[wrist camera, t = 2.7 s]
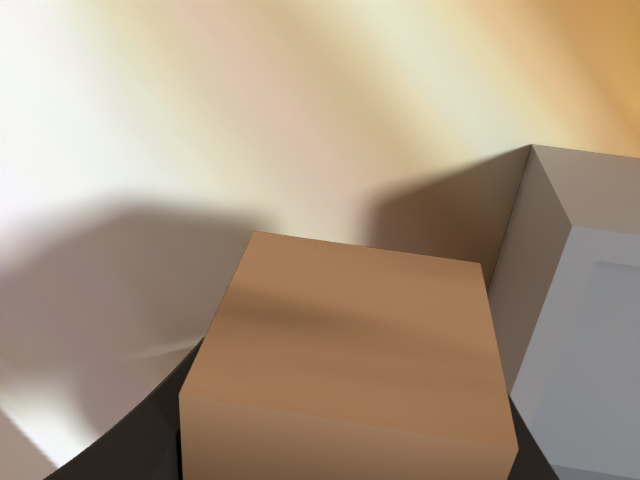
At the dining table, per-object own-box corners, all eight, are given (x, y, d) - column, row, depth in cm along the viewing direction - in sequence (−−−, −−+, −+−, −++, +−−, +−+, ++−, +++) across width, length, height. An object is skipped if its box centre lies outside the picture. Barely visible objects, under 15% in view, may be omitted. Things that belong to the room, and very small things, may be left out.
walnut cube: (436, 423, 15) (448, 628, 11) (248, 393, 16) (187, 581, 11) (480, 263, 13) (518, 449, 8) (254, 230, 13) (178, 394, 9)
